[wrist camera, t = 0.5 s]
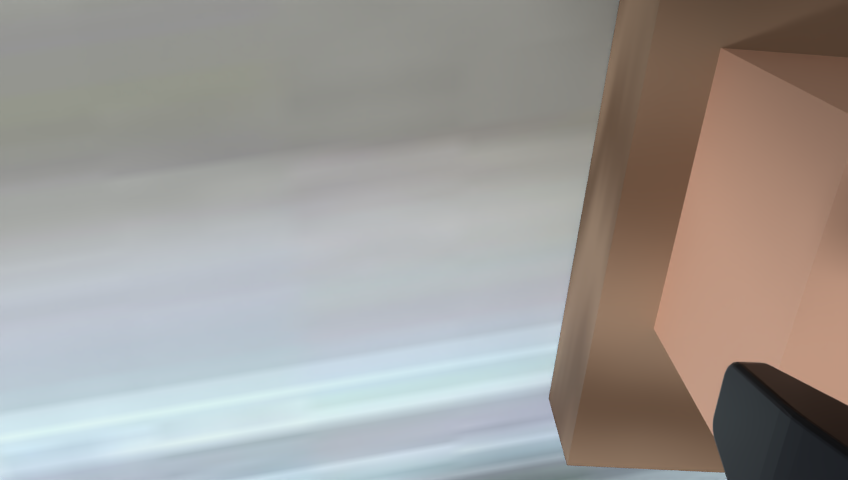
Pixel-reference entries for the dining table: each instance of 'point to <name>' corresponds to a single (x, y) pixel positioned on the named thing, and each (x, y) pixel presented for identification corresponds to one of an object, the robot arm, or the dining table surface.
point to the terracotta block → (764, 228)
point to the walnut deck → (653, 223)
